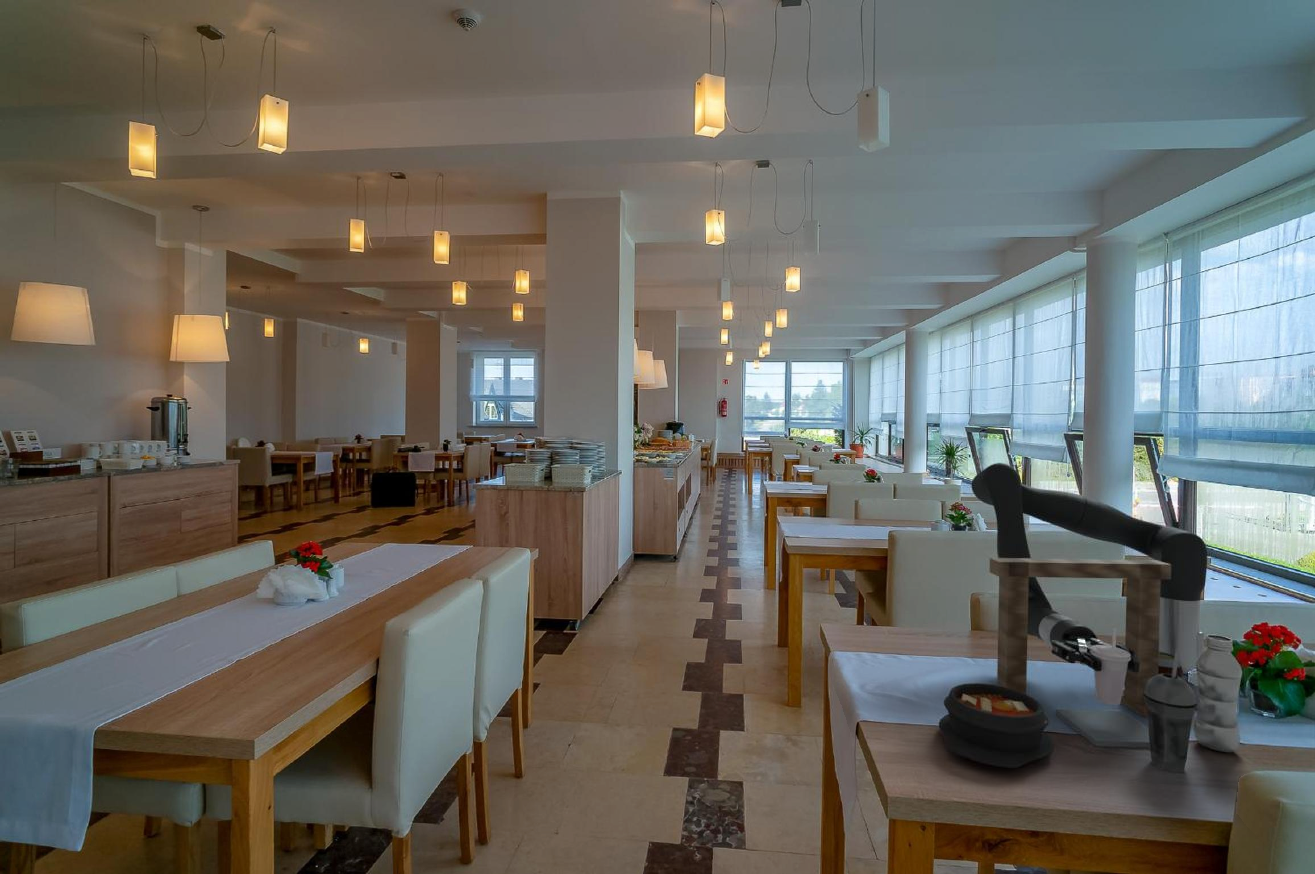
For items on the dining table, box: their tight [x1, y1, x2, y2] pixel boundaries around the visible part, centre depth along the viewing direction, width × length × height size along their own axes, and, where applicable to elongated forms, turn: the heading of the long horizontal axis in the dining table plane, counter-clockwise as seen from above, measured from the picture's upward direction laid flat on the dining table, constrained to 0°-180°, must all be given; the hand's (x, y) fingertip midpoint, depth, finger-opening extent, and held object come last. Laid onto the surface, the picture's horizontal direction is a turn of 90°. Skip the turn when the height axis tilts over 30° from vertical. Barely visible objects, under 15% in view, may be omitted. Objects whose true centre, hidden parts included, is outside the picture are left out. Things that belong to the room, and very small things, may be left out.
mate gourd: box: [1158, 637, 1184, 679], centre depth 143 cm, size 8×8×15 cm
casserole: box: [938, 682, 1055, 769], centre depth 120 cm, size 25×19×8 cm
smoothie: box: [1090, 627, 1131, 706], centre depth 125 cm, size 6×6×14 cm
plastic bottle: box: [1192, 634, 1243, 753], centre depth 119 cm, size 6×7×20 cm
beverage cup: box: [1143, 649, 1198, 773], centre depth 113 cm, size 7×7×20 cm
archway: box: [989, 557, 1171, 719], centre depth 136 cm, size 34×10×30 cm, turn 87°
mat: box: [1055, 708, 1150, 749], centre depth 126 cm, size 13×13×1 cm
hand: (1118, 666), depth 123 cm, fingers closed on smoothie, 6 cm apart
